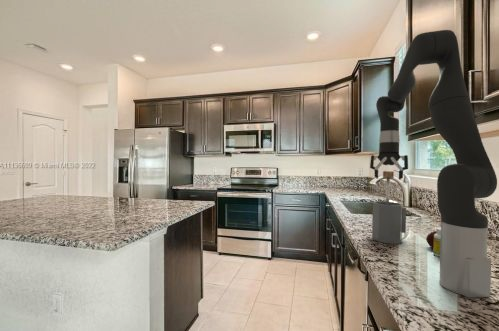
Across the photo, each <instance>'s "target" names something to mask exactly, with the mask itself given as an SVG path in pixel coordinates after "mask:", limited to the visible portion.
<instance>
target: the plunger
mask: <svg viewBox="0 0 499 331" xmlns="http://www.w3.org/2000/svg"><path fill="white" fill-rule="evenodd" d="M394 173H395V172H394V171H389V170H387V171H386V170H384V171H382V178H383V179H386V182H385V183H386V189H385V200H386V205H389V200H390V188H391V186H390V184H391V181H390V180H391V179H392V180H393V179H394V178H395V177H394V176H395V174H394Z"/></svg>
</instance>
